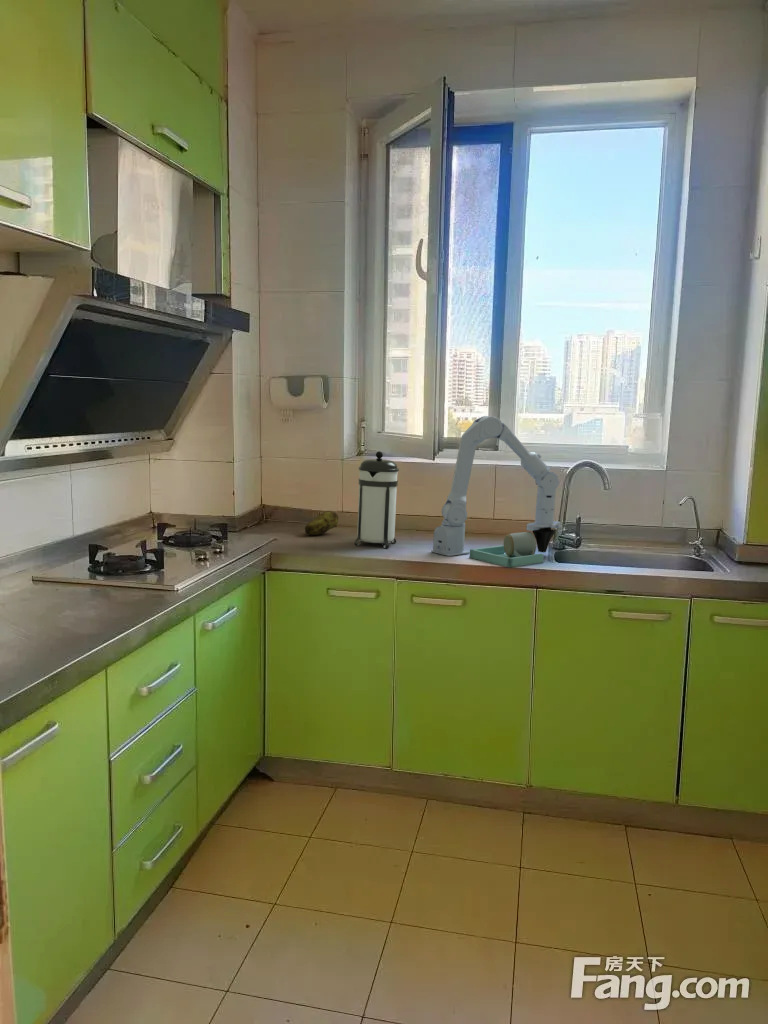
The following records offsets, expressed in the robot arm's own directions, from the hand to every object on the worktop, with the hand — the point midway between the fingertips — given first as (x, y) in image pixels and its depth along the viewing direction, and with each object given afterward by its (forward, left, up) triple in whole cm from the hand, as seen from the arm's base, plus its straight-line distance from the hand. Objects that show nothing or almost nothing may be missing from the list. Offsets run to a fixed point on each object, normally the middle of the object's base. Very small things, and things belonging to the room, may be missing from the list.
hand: (542, 551), depth 243 cm
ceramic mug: (-10, 0, -1) cm, 10 cm away
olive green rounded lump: (-42, +61, -1) cm, 74 cm away
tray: (-17, 0, -1) cm, 17 cm away
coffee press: (-36, +39, -1) cm, 53 cm away
